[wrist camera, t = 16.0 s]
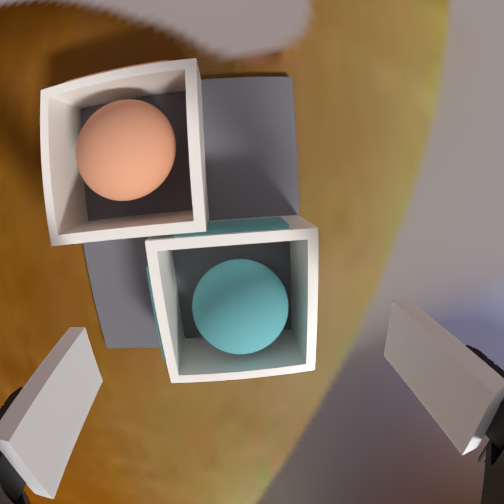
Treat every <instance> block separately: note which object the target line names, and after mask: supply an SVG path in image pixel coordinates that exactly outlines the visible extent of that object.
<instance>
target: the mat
mask: <svg viewBox="0 0 504 504" xmlns="http://www.w3.org/2000/svg"><path fill="white" fill-rule="evenodd" d="M201 85H202V109H203V129H204V147H205V163H206V179H207V193H208V206H209V221H216V220H229V219H242V218H257V217H272V216H288V215H299V190H298V165H297V145H296V127H295V112H294V97H293V84H292V77H234V78H216V79H203V80H201ZM130 99H134V100H140V101H144V102H147V103H149V104H151V105H153V106H154V107H156V108H157V109H159V110H160V111H161V112H162V113H163V114H164V115H165V116H166V117H167V119H168V120H169V122H170V124H171V126H172V128H173V131H174V134H175V138H176V155H175V160H174V163H173V166H172V168H171V171H170V172H169V174H168V176H167V177H166V179H165V180H164V181H163V182H162V184H161V185H160V186H159V187H157V188H156V189H155V190H154V191H152V192H151V193H149V194H147V195H145V196H143V197H141V198H138V199H135V200H130V201H117V200H111V199H108V198H105V197H103V196H101V195H99V194H97V193H96V192H94V191H93V190H92V189H91V188H90V187H89V186H88V185H87V184H86V183H85V181H84V187H85V197H86V206H87V214H88V221H92V220H100V219H108V218H117V217H126V216H135V215H144V214H154V213H164V212H175V211H186V210H193V206H192V193H191V180H190V166H189V150H188V132H187V111H186V91H180V92H171V93H163V94H156V95H149V96H142V97H136V98H130ZM114 102H115V101H114ZM109 103H111V102H109ZM109 103H104V104H99V105H95V106H90V107H86V108H82V109H81V130H82V128H83V126H84V124H85V123H86V121H87V120H88V119H89V118H90V117H91V116H92V115H93V114H94V113H95V112H96V111H97V110H99V109H100V108H101V107H103V106H105V105H107V104H109ZM148 237H149V236H148ZM148 237H137V238H126V239H116V240H106V241H96V242H86V243H83V246H84V251H85V257H86V263H87V268H88V273H89V278H90V283H91V287H92V292H93V296H94V300H95V305H96V309H97V313H98V317H99V321H100V325H101V328H102V332H103V336H104V339H105V343H106V346H107V348H154V347H161V346H160V341H159V336H158V331H157V326H156V321H155V316H154V311H153V306H152V300H151V295H150V289H149V283H148V277H147V270H146V267H147V265H148V261H147V254H146V246H145V241H146V240H147V239H148ZM172 253H173V261H174V268H175V276H176V283H177V290H178V297H179V304H180V310H181V317H182V323H183V329H184V335H185V338H199V337H203V336H202V335H201V333H200V332H199V330H198V328H197V326H196V324H195V321H194V317H193V311H192V303H193V296H194V292H195V289H196V287H197V285H198V283H199V281H200V280H201V278H202V277H203V276H204V275H205V274H206V273H207V272H208V271H209V270H210V269H211V268H213V267H214V266H216V265H217V264H220V263H222V262H225V261H228V260H233V259H248V260H252V261H256V262H258V263H261V264H263V265H265V266H266V267H268V268H269V269H270V270H272V271H273V272H274V273H275V274H276V275H277V277H278V278H279V279H280V281H281V282H282V284H283V286H284V288H285V291H286V294H287V298H288V316H287V320H286V323H285V325H284V328H283V330H288V329H291V268H290V241H281V242H267V243H254V244H241V245H228V246H215V247H203V248H190V249H178V250H172Z"/></svg>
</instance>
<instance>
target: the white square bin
mask: <svg viewBox="0 0 504 504" xmlns="http://www.w3.org/2000/svg"><path fill="white" fill-rule="evenodd" d="M281 241H290V268H291V329H288V330H282V331H281V333H280V334H279V336H278V337H277V338H276V339H275V340H274V341H273V342H272V343H271V344H270V345H268V346H267V347H265V348H263V349H261V350H259V351H257V352H253V353H249V354H231V353H227V352H224V351H222V350H219V349H217V348H216V347H214V346H213V345H211V344H210V343H209V342H208V341H207V340H206V339H205V338H204V337H199V338H185V335H184V329H183V323H182V317H181V310H180V304H179V297H178V290H177V283H176V276H175V268H174V261H173V253H172V250H178V249H190V248H203V247H215V246H228V245H241V244H254V243H267V242H281ZM145 246H146V254H147V261H148V265H147V267H146V270H147V277H148V283H149V289H150V295H151V300H152V306H153V311H154V316H155V321H156V326H157V331H158V336H159V341H160V346H161V350H162V355H163V359H164V361H166V363H167V367H168V371H169V375H170V380H171V383H185V382H206V381H222V380H235V379H246V378H256V377H266V376H274V375H282V374H290V373H297V372H304V371H311V370H315V357H316V336H317V307H318V228H317V227H316V226H314V225H313V224H311V223H310V222H308V221H306V220H305V219H303V218H302V217H300V216H299V215H288V216H272V217H257V218H242V219H229V220H216V221H208V226H207V230H206V232H194V233H182V234H171V235H159V236H149V237H148V239H147V240H146V241H145Z"/></svg>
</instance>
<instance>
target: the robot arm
mask: <svg viewBox="0 0 504 504" xmlns="http://www.w3.org/2000/svg"><path fill="white" fill-rule="evenodd" d="M384 356H385V358H386V359H387V360H388V361H389V363H390V364H391V365H392V366H393V367H394V369H395V370H396V371H397V372H398V373H399V375H400V376H401V377H402V379H403V380H404V381H405V382H406V384H407V385H408V386H409V387H410V389H411V390H412V391H413V392H414V394H415V395H416V396H417V398H418V399H419V400H420V401H421V402H422V404H423V405H424V406H425V408H426V409H427V410H428V412H429V413H430V414H431V415H432V417H433V418H434V419H435V421H436V422H437V423H438V424H439V426H440V427H441V428H442V430H443V431H444V432H445V434H446V435H447V436H448V437H449V439H450V440H451V441H452V443H453V444H454V445H455V447H456V448H457V449H458V450H459V452H460V453H461V455H464V454H466V453H467V452H469V451H471V450H473V449H475V448H476V447H478V446H479V444H480V443H481V441H482V439H483V437H484V436H485V434H486V436H487V437H488V438H489V439H490V440H489V442H488V443H487V445H486V447H485V449H484V450H483V452H482V453H481V455H480V456H479V459H478V462H481V460H482V458H483V457H484V455H485V454H486V460H485V461H484V462H485V472H484V473H485V474H484V482H483V490H482V498H481V504H504V371H503V370H502V369H501V368H500V367H499V366H497V365H494V362H493V361H491V360H490V359H487V356H485V355H484V354H483V353H482V352H481V351H479V350H478V349H475V348H473V347H471V346H468V345H466V346H465V345H464V344H463V343H461V342H460V341H459V340H458V339H456V338H455V337H454V336H453V335H452V334H450V333H449V332H448V331H447V330H446V329H444V328H443V327H442V326H441V325H439V324H438V323H437V322H435V321H434V320H433V319H432V318H431V317H429V316H428V315H427V314H426V313H424V312H423V311H422V310H420V309H419V308H418V307H417V306H415V305H414V304H413V303H411V302H410V301H409V300H408V299H401V300H396V301H392V304H391V311H390V319H389V326H388V333H387V340H386V346H385V352H384ZM102 382H103V381H102V378H101V375H100V372H99V369H98V367H97V364H96V361H95V358H94V355H93V351H92V348H91V345H90V342H89V339H88V335H87V332H86V328H85V327H70V328H69V329H68V330H67V331H66V333H65V334H64V335H63V336H62V338H61V339H60V340H59V341H58V343H57V344H56V345H55V346H54V348H53V349H52V350H51V351H50V353H49V354H48V355H47V357H46V358H45V359H44V360H43V362H42V363H41V364H40V366H39V367H38V368H37V370H36V371H35V372H34V374H33V375H32V376H31V378H30V379H29V380H28V382H27V383H26V384H25V386H24V387H20V388H19V389H17V390H16V391H15V392H13V393H12V394H11V395H10V396H9V397H8V399H7V400H6V402H5V403H4V406H2V407H1V409H0V504H30V501H29V499H28V496H27V495H26V493H25V492H24V491H23V489H24V487H25V485H26V484H27V485H28V486H29V487H30V489H31V490H32V491H33V492H34V493H35V494H38V495H41V496H44V497H48V498H51V499H54V497H55V494H56V491H57V489H58V486H59V483H60V481H61V478H62V475H63V473H64V470H65V468H66V465H67V462H68V460H69V457H70V455H71V452H72V450H73V447H74V445H75V443H76V440H77V438H78V435H79V433H80V431H81V428H82V426H83V424H84V421H85V419H86V417H87V415H88V412H89V410H90V408H91V406H92V403H93V401H94V399H95V397H96V394H97V392H98V390H99V388H100V386H101V384H102Z"/></svg>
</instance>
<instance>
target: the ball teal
mask: <svg viewBox="0 0 504 504" xmlns="http://www.w3.org/2000/svg"><path fill="white" fill-rule="evenodd" d="M192 311H193V317H194V321H195V324H196V326H197V328H198V330H199V332H200V333H201V335H202V336H203V337H204V338H205V339H206V340H207V341H208V342H209V343H210V344H211V345H213V346H214V347H216V348H217V349H219V350H222V351H224V352H227V353H231V354H249V353H253V352H257V351H259V350H261V349H263V348H265V347H267V346H268V345H270V344H271V343H272V342H273V341H274V340H275V339H276V338H277V337H278V336H279V334H280V333H281V331H282V330H283V328H284V325H285V323H286V320H287V316H288V298H287V294H286V291H285V288H284V286H283V284H282V282H281V281H280V279H279V278H278V277H277V275H276V274H275V273H274V272H273V271H272V270H270V269H269V268H268V267H266V266H265V265H263V264H261V263H258V262H256V261H252V260H248V259H233V260H228V261H225V262H222V263H220V264H217V265H216V266H214V267H213V268H211V269H210V270H209V271H208V272H207V273H206V274H205V275H204V276H203V277H202V278H201V280H200V281H199V283H198V285H197V287H196V289H195V292H194V296H193V303H192Z"/></svg>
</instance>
